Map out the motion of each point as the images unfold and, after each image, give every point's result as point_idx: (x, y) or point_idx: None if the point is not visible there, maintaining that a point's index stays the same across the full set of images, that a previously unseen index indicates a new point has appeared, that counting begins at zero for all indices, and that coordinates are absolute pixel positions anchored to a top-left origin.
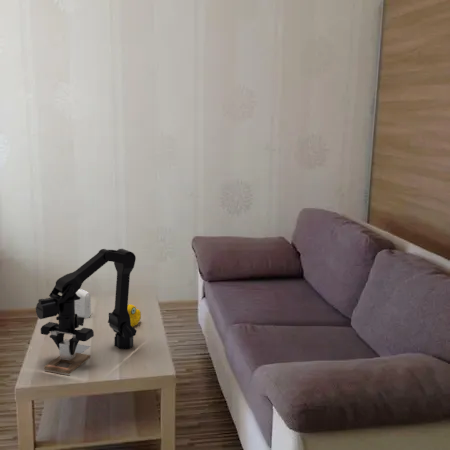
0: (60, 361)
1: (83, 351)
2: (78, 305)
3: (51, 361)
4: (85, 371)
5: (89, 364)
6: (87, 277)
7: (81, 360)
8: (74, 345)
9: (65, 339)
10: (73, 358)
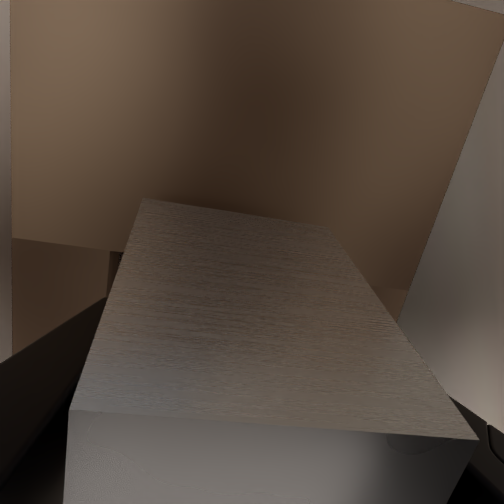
0: (112, 263)
1: None
2: None
3: (15, 349)
4: (452, 323)
5: (472, 157)
6: None
7: (412, 236)
8: None
9: (83, 433)
10: (280, 199)
